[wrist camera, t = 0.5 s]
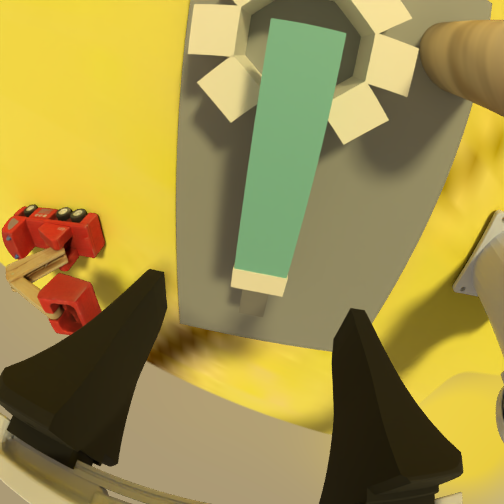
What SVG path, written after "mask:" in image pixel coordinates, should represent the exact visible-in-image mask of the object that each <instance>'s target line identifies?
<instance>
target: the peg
mask: <svg viewBox="0 0 504 504" xmlns="http://www.w3.org/2000/svg"><path fill="white" fill-rule="evenodd" d="M420 58H421V62H422V65H423V68H424V70H425V72H426V74H427V75H428V77H429V78H430V79H431V81H432V82H433V83H434V84H435V85H437V86H438V87H439V88H441V89H442V90H444V91H446V92H449V93H452V94H454V95H457V96H459V97H462V98H464V99H466V100H469V101H471V102H473V103H476V104H478V105H480V106H482V107H485V108H487V109H489V110H491V111H493V112H495V113H497V114H499V115H501V116H503V117H504V20H469V21H453V22H442V23H437V24H434V25H432V26H431V27H429V28H428V29H427V30H426V31H425V33H424V34H423V36H422V38H421V42H420Z"/></svg>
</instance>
